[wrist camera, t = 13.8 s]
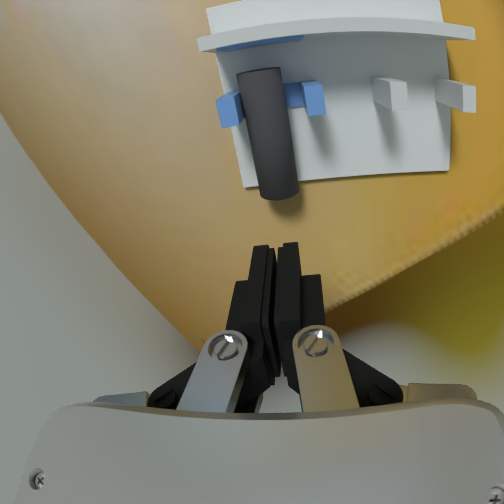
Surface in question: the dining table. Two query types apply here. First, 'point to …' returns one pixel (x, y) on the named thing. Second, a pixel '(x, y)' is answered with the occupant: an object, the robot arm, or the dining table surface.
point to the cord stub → (269, 132)
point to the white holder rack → (345, 81)
